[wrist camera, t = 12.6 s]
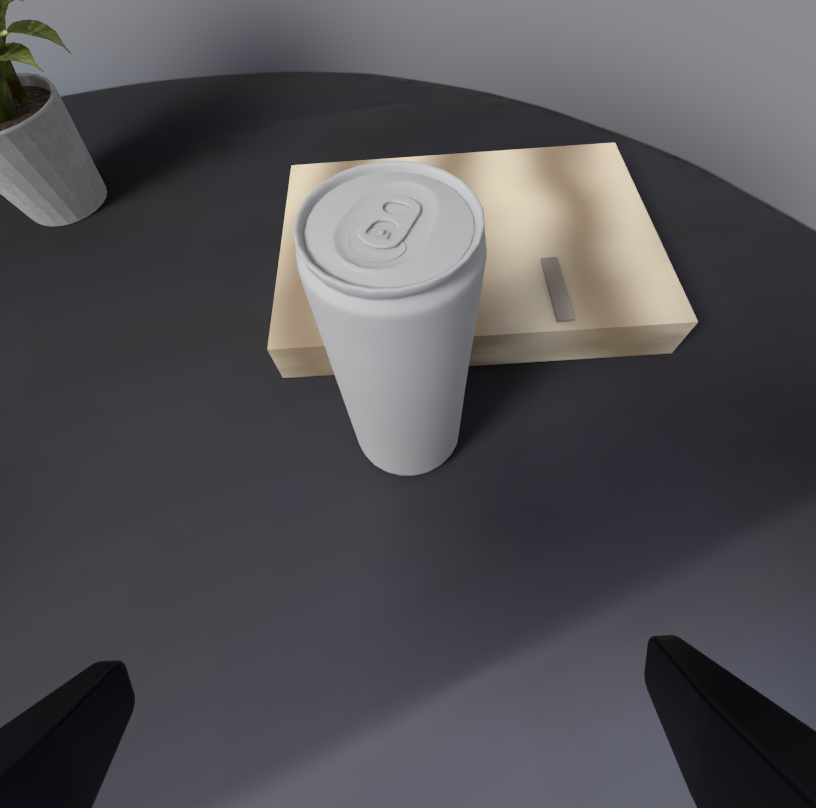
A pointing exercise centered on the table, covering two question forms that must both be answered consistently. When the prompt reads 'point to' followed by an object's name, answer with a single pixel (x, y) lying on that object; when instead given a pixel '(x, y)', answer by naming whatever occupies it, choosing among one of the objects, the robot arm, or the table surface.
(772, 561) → the table surface
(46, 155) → the house plant
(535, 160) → the chopping board
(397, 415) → the beverage can
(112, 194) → the table surface
